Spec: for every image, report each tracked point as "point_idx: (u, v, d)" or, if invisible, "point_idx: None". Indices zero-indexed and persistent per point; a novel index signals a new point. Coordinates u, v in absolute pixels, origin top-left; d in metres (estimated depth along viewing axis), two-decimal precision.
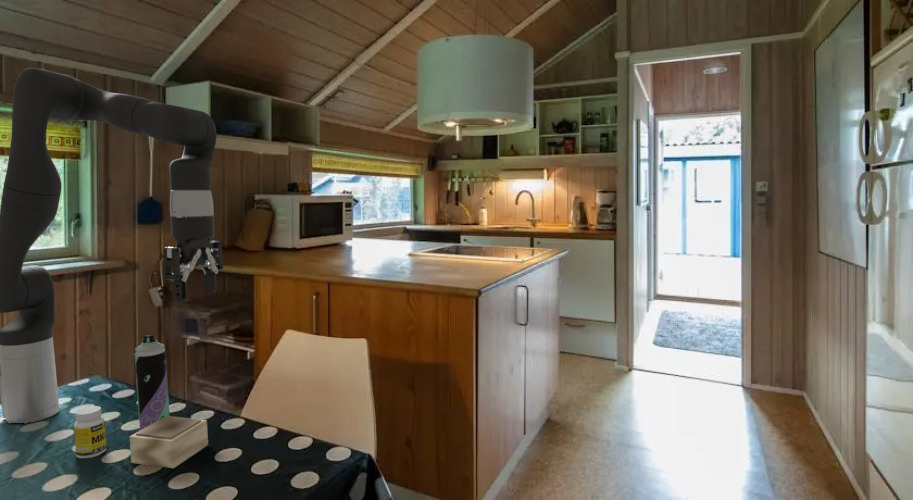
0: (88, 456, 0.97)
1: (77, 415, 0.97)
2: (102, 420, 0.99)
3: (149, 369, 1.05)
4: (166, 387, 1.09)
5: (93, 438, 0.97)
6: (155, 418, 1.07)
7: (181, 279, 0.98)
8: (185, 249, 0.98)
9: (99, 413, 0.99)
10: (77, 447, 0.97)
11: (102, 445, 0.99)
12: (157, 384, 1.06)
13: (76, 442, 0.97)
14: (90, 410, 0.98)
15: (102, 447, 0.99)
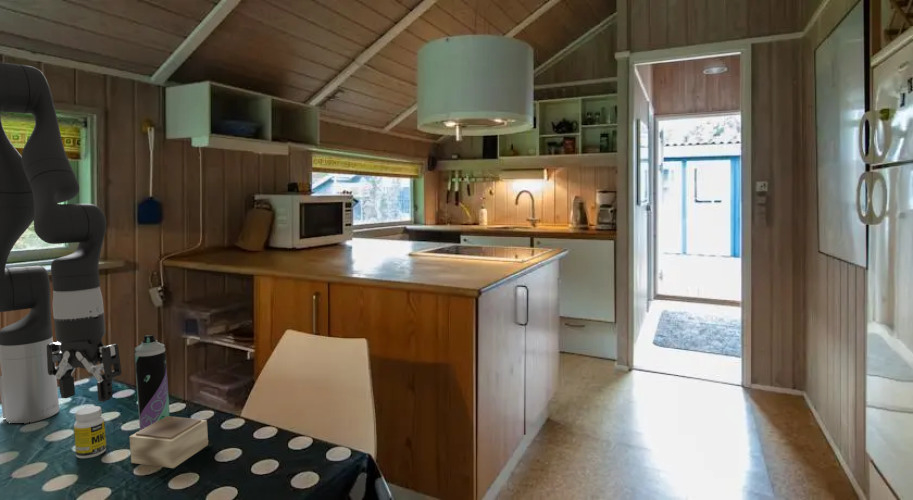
0: (88, 456, 0.97)
1: (77, 415, 0.97)
2: (102, 420, 0.99)
3: (149, 369, 1.05)
4: (166, 387, 1.09)
5: (93, 438, 0.97)
6: (155, 418, 1.07)
7: None
8: None
9: (99, 413, 0.99)
10: (77, 447, 0.97)
11: (102, 445, 0.99)
12: (157, 384, 1.07)
13: (76, 442, 0.97)
14: (90, 410, 0.98)
15: (102, 447, 0.99)
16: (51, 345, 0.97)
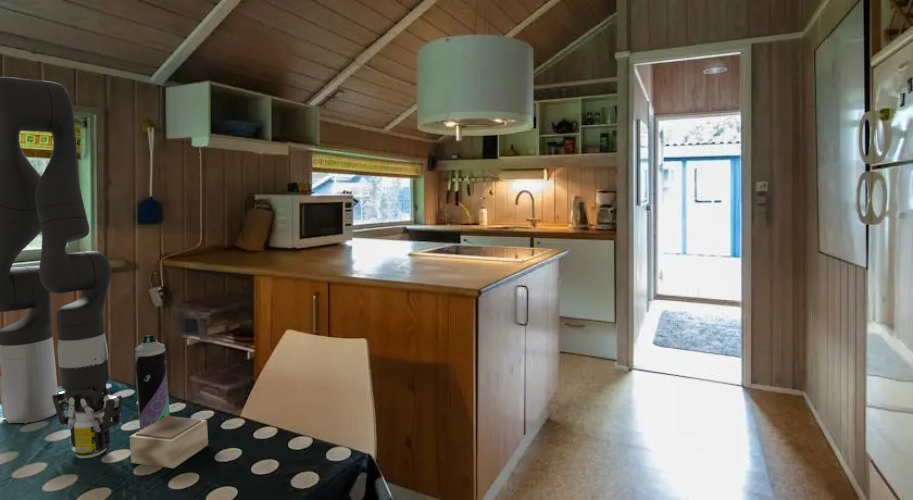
0: (88, 456, 0.97)
1: (77, 415, 0.97)
2: None
3: (149, 369, 1.05)
4: (166, 387, 1.09)
5: (93, 438, 0.97)
6: (155, 418, 1.07)
7: None
8: None
9: None
10: (77, 447, 0.97)
11: None
12: (157, 384, 1.06)
13: (76, 442, 0.97)
14: None
15: None
16: (56, 395, 0.99)
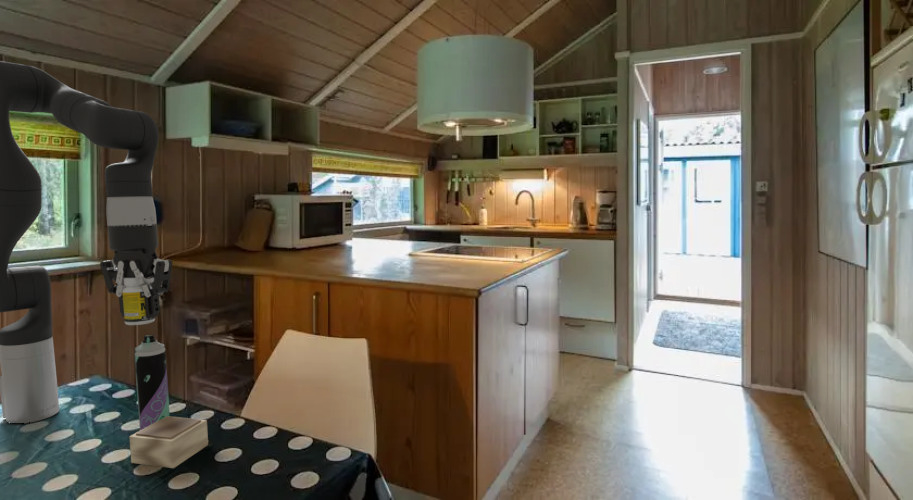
0: (137, 323, 0.93)
1: (126, 279, 0.93)
2: (151, 288, 0.95)
3: (149, 369, 1.05)
4: (166, 387, 1.09)
5: (142, 304, 0.94)
6: (155, 418, 1.07)
7: (159, 292, 0.95)
8: None
9: None
10: (126, 313, 0.93)
11: None
12: (157, 384, 1.06)
13: (125, 308, 0.93)
14: None
15: None
16: (104, 262, 0.95)
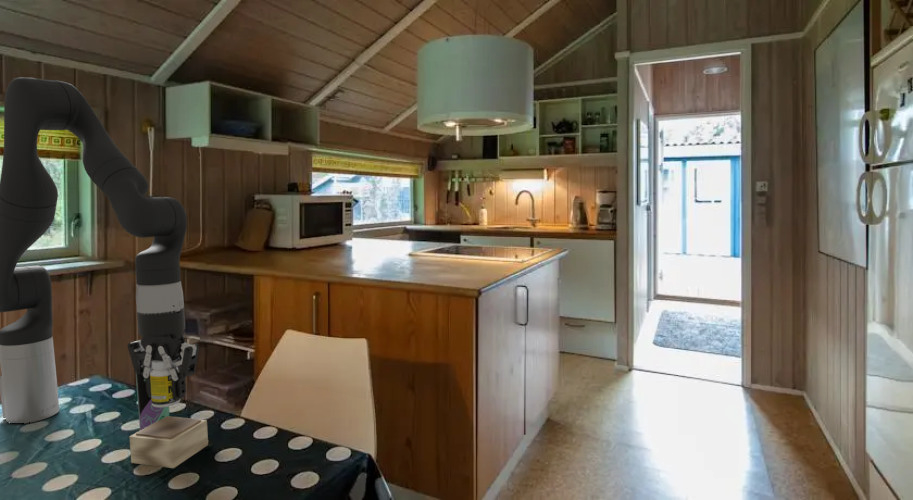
0: (165, 405, 0.96)
1: (154, 363, 0.95)
2: (177, 370, 0.98)
3: None
4: None
5: (170, 387, 0.96)
6: (155, 418, 1.07)
7: None
8: None
9: None
10: (154, 396, 0.95)
11: None
12: None
13: (152, 391, 0.96)
14: None
15: None
16: (132, 343, 0.97)
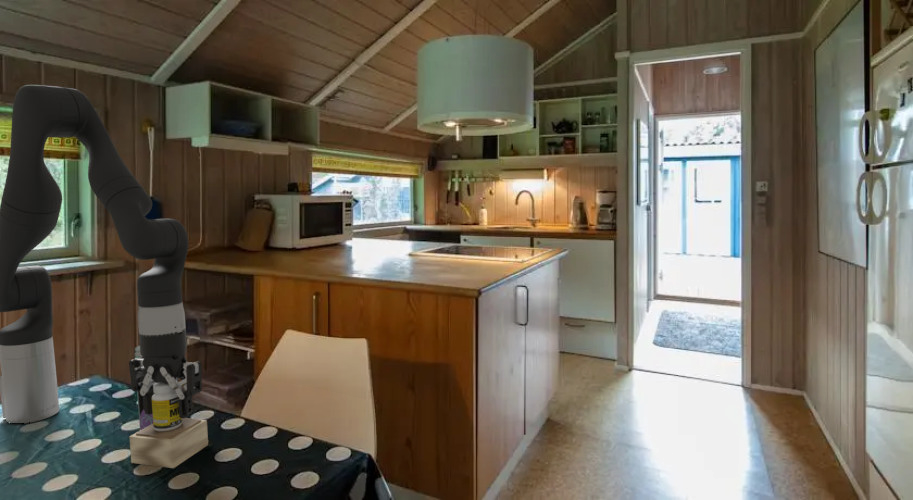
0: (166, 429, 0.96)
1: (155, 387, 0.96)
2: None
3: None
4: None
5: (171, 411, 0.96)
6: None
7: None
8: None
9: None
10: (155, 420, 0.96)
11: (179, 418, 0.98)
12: None
13: (154, 415, 0.96)
14: None
15: (179, 420, 0.98)
16: (133, 361, 0.97)
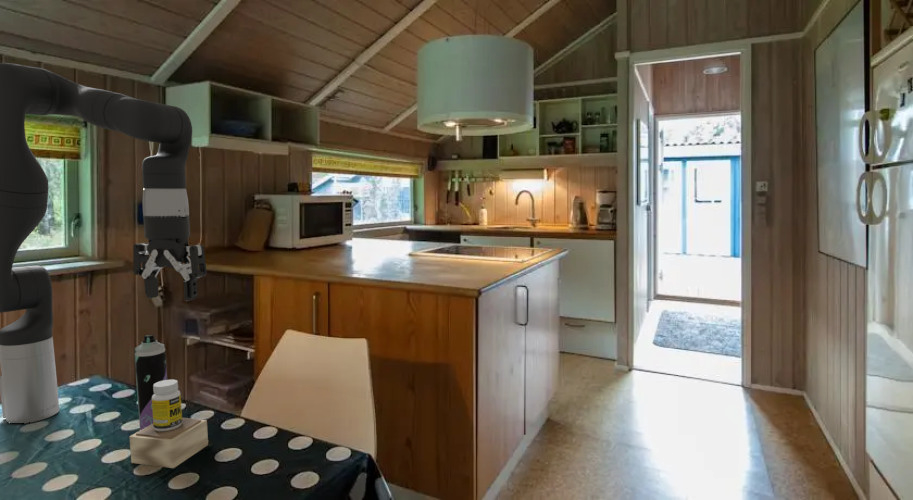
0: (166, 429, 0.96)
1: (155, 387, 0.96)
2: (179, 393, 0.98)
3: (149, 369, 1.05)
4: None
5: (171, 411, 0.96)
6: None
7: None
8: None
9: (176, 386, 0.98)
10: (155, 420, 0.96)
11: (179, 418, 0.98)
12: None
13: (154, 415, 0.96)
14: (168, 383, 0.97)
15: (179, 420, 0.98)
16: (138, 245, 0.99)
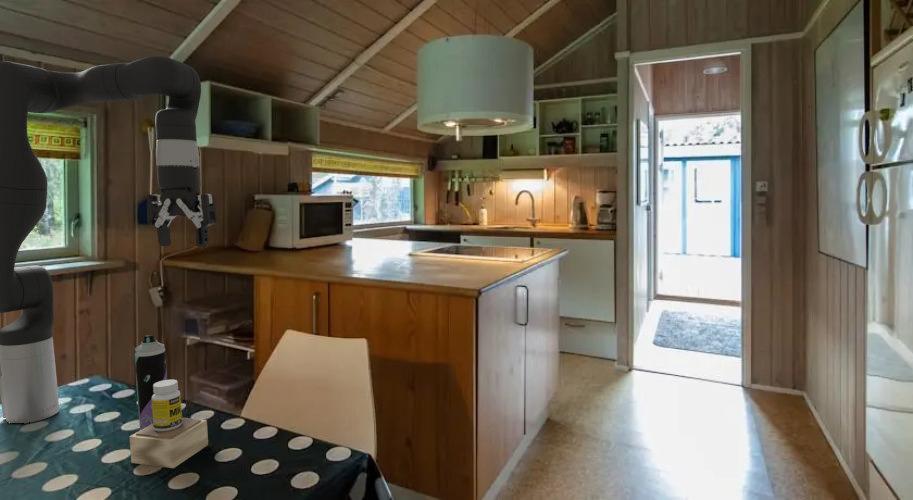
0: (166, 429, 0.96)
1: (155, 387, 0.96)
2: (179, 393, 0.98)
3: (149, 369, 1.05)
4: None
5: (171, 411, 0.96)
6: None
7: (208, 224, 1.05)
8: None
9: (176, 386, 0.98)
10: (155, 420, 0.96)
11: (179, 418, 0.98)
12: None
13: (154, 415, 0.96)
14: (168, 383, 0.97)
15: (179, 420, 0.98)
16: (151, 195, 1.05)
